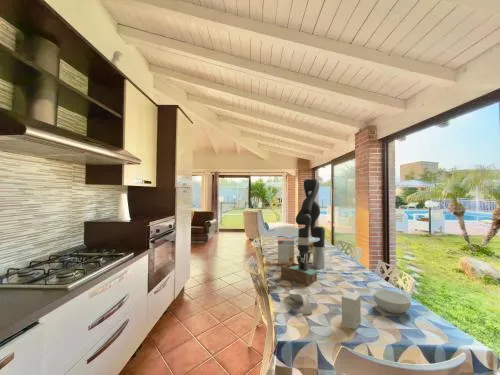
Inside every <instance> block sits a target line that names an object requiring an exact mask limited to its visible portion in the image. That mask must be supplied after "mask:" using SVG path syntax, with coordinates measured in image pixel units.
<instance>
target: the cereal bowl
mask: <svg viewBox="0 0 500 375" xmlns="http://www.w3.org/2000/svg"><path fill="white" fill-rule="evenodd" d="M373 300H374V302H375V304H376V305H377V306H378V307H380V308H381V309H383V310H384V311H386V312H388V313H391V314H399V313H406V312H408V310H410V308H411V302H412V300H411V299H410V298H409V296H407V295H405V294H402V293H400V292H397V291H393V290H387V289H378V290H375V291H374V292H373Z"/></svg>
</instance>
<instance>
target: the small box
mask: <svg viewBox="0 0 500 375" xmlns="http://www.w3.org/2000/svg"><path fill="white" fill-rule="evenodd" d="M361 298H362V297H361V294H359V293H356V292H352V291H348V290H347V291H346V292H345V293H344V294H342V296H341V325H342V326H343V327H347V328H350V329H353V330H357V329H358V327H359V325H360V324H361V323H362V321H361V320H362V318H361V316H362V315H361V314H362V312H361V311H362V310H361V308H362V305H361V304H362V302H361Z"/></svg>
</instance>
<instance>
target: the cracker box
mask: <svg viewBox="0 0 500 375" xmlns="http://www.w3.org/2000/svg"><path fill="white" fill-rule="evenodd" d="M290 263H295V239H289V238H278V239H277V265H281V266H284V265H287V264H290Z"/></svg>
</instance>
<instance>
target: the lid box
mask: <svg viewBox="0 0 500 375" xmlns="http://www.w3.org/2000/svg"><path fill="white" fill-rule="evenodd" d="M296 265H298V266H299V263H296V262H294V263H290V264H287V265H281V266H280V268H281V269H280V279H282V280H285V281H287V282H291V283H294V284H297V285H299V286H303V287H308V286H310V285H311V284H313V283H316V282H318V281H317V280H318V276H317V275H318V273H317V274H314V275H312V276H309V275H307V273H306V272H302V271H299V270H295V269H291V268H290V267H293V266H296ZM308 268H310V269H314V270H317V271H318V269H316V268H313V266H312V267H311V266H308Z"/></svg>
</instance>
